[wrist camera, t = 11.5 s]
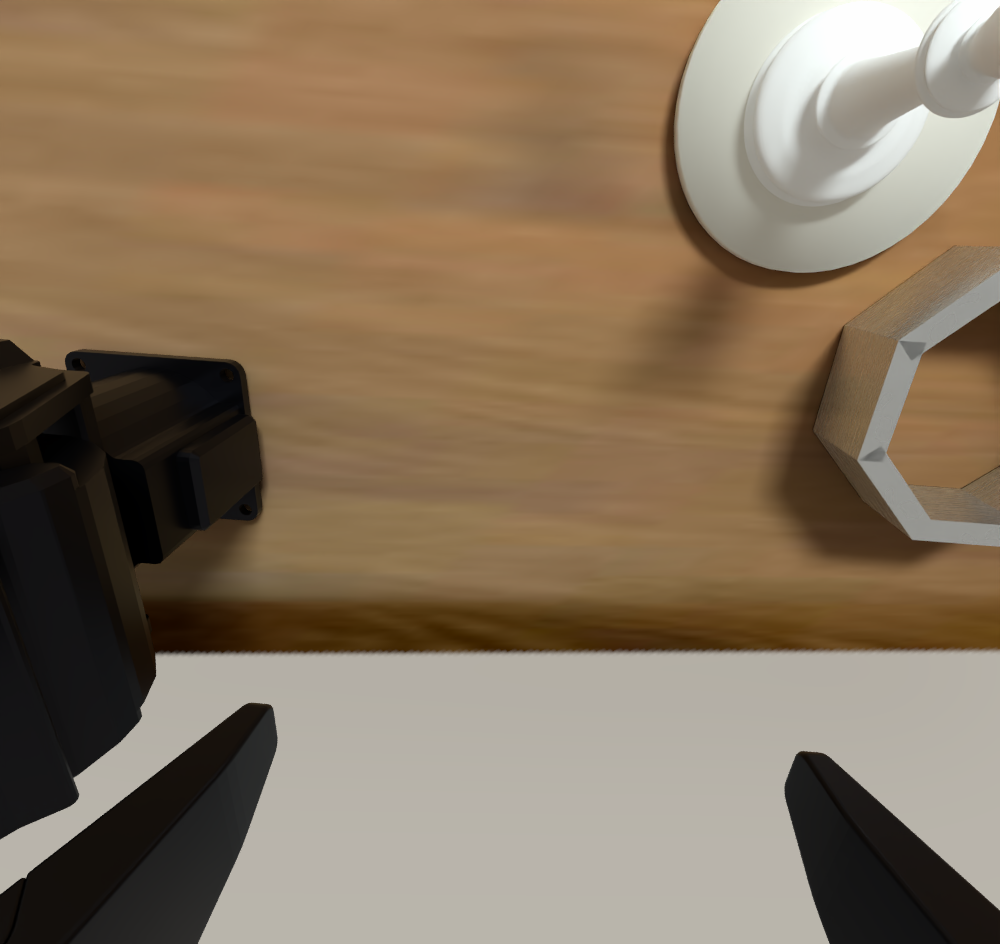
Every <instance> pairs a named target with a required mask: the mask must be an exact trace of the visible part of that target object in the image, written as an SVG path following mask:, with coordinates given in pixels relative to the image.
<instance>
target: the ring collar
mask: <svg viewBox="0 0 1000 944" xmlns="http://www.w3.org/2000/svg"><path fill="white" fill-rule="evenodd" d="M999 301H1000V247H987V246H954V247H952V248H951V249H950V250H948V251H947V252H945V253H944V254H943V255H941V256H940V257H938V258H937V259H936V260H934V261H933V262H932V263H930V264H929V265H927V266H926V267H925V268H923V269H922V270H920V271H919V272H918V273H916V274H915V275H914V276H912V277H911V278H909V279H908V280H907V281H905V282H904V283H902V284H901V285H900V286H898V287H897V288H896V289H894V290H893V291H891V292H890V293H889V294H887V295H886V296H884V297H883V298H882V299H880V300H879V301H878V302H876V303H875V304H873V305H872V306H871V307H869V308H868V309H867V310H865V311H864V312H862V313H861V314H860V315H858V316H857V317H855V318H854V319H853V320H851V321H850V322H849V323H847V324H846V325H845V326H844V329H843V332H842V336H841V339H840V342H839V346H838V349H837V352H836V355H835V359H834V362H833V365H832V369H831V372H830V375H829V379H828V382H827V385H826V389H825V392H824V395H823V398H822V402H821V405H820V408H819V412H818V415H817V418H816V422H815V425H814V428H813V431H814V433H815V434H816V435H817V437H818V438H819V440H820V441H821V442H822V444H823V445H824V447H825V448H826V449H827V451H828V452H829V454H830V455H831V457H832V458H833V459H834V461H835V462H836V464H837V465H838V466H839V468H840V469H841V471H842V472H843V473H844V475H845V476H846V478H847V479H848V480H849V482H850V483H851V485H852V486H853V488H854V489H855V490H856V492H857V493H858V495H859V496H860V497H861V499H862V500H863V501H864V502H865V503H866V504H868V505H869V506H870V507H871V508H873V509H874V510H875V511H877V512H878V513H879V514H880V515H882V516H883V517H884V518H885V519H887V520H888V521H889V522H890V523H892V524H893V525H894V526H895V527H897V528H898V529H899V530H901V531H902V532H903V533H904V534H906V535H907V536H908V537H909V538H911V539H912V540H921V541H934V542H947V543H960V544H974V545H987V546H1000V467H998V468H996V469H994V470H993V471H991V472H989V473H988V474H986V475H984V476H983V477H981V478H979V479H977V480H976V481H974V482H972V483H971V484H969V485H967V486H966V487H964V488H962V489H957V488H943V487H930V486H916V485H907V483H906V482H905V480H904V479H903V477H902V476H901V474H900V473H899V471H898V470H897V469H896V467H895V466H894V464H893V463H892V461H891V460H890V458H889V457H888V455H887V454H886V452H887V449H888V446H889V443H890V441H891V438H892V435H893V432H894V430H895V427H896V424H897V421H898V419H899V416H900V413H901V410H902V408H903V405H904V402H905V399H906V397H907V394H908V391H909V388H910V386H911V383H912V380H913V377H914V375H915V372H916V369H917V366H918V364H919V361H920V358H921V356H922V354H923V353H924V352H925V351H927V350H928V349H930V348H931V347H933V346H934V345H936V344H937V343H939V342H940V341H942V340H943V339H945V338H946V337H948V336H949V335H951V334H952V333H954V332H955V331H957V330H958V329H959V328H961V327H962V326H964V325H965V324H967V323H968V322H970V321H971V320H973V319H974V318H976V317H977V316H979V315H980V314H982V313H983V312H985V311H986V310H988V309H989V308H991V307H992V306H994V305H995V304H996V303H998V302H999Z"/></svg>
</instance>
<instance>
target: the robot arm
mask: <svg viewBox="0 0 1000 944" xmlns="http://www.w3.org/2000/svg"><path fill="white" fill-rule="evenodd" d="M80 359H81V360H82V361H83V362H84V363H85V365H86V369H85V368H84V367H83V366H82V365H81V363H80ZM65 364H66V368H67V370H58V369H52V368H45V367H41V365H40V362H39V361H34V360H33V359H32V358H30V357H29V356H28V355H27V354H26V353H24V352H23V351H22V350H21V349H20V348H19V347H17V346H16V345H15V344H14V343H13V342H11V341H10V340H4V339H0V839H2V838H3V837H5V836H7V835H8V834H10V833H12V832H14V831H15V830H17V829H19V828H21V827H23V826H25V825H28V824H30V823H32V822H35V821H37V820H39V819H41V818H44V817H47V816H49V815H51V814H54V813H56V812H58V811H61V810H63V809H65V808H67V807H69V806H71V805H72V804H74V803H75V802H76V801H77V799H78V797H79V793H78V790H77V787H76V785H75V782H74V779H73V778H74V777H75V776H77V775H79V774H80V773H81V772H82V771H84V770H85V769H86V768H88V767H89V766H90V765H91V764H92V763H94V762H95V761H96V760H98V759H99V758H100V757H101V756H103V755H104V754H105V753H107V752H108V751H109V750H111V749H112V748H113V747H114V746H116V745H117V744H118V743H119V742H121V740H123V738H124V737H125V736H126V735H127V734H128V733H129V732H130V731H131V730H132V729H133V728H134V727H135V725H136V724H137V723H138V722H139V721H140V719H141V717H142V714H141V710H140V707H141V706H142V704H143V703H144V701H145V699H146V697H147V695H148V692H149V690H150V688H151V686H152V684H153V681H154V679H155V677H156V662H155V661H156V660H155V651H154V647H153V643H152V639H151V635H150V634H151V631H152V628H151V624H150V620H149V616H148V615H147V614H145V611H144V607H143V603H142V599H141V595H140V590H139V586H138V582H137V578H136V574H135V570H134V568H135V567H137V566H138V565H139V564H140V563H149V564H158V563H161V562H162V561H163V560H164V559H165V558H166V557H168V556H169V555H170V554H171V553H172V552H173V551H174V550H176V549H177V548H178V547H179V546H180V545H181V544H182V543H183V542H185V541H186V540H187V539H188V538H189V537H190V536H191V535H192V534H194V533H195V532H196V531H197V530H204V531H205V530H207V529H208V528H209V527H210V526H211V525H212V524H214V523H215V522H216V521H217V520H218V519H219V518H220V519H233V520H246V521H247V520H253V519H254V518H256V517H257V516H258V515H259V514H260V512H261V511H262V501H261V493H260V485H259V482H260V481H261V480H262V468H261V460H260V452H259V444H258V436H257V428H256V421H255V420H254V419H253V417H252V416H251V414H250V406H249V398H248V390H247V382H246V374H245V371H244V368H243V367H242V366H241V364H239V363H238V362H236V361H233V360H228V359H214V358H200V357H185V356H171V355H157V354H143V353H129V352H115V351H101V350H86V349H82V350H77V351H73V352H70V353H69V354H67V356H66V358H65ZM226 369H229V370H230V371H231V372H232V373H233V375H234V378H233V380H232V379H229V378H228V377H227V376H226V373H225V371H226ZM244 504H247V505H249V506H250V507H251V509H252V511H250V510H247V509H246V508H245V506H244ZM276 748H277V731H276V725H275V718H274V711H273V708H272V706H271V705H269V704H260V703H248V704H246V705H244V706H242V707H241V708H240V709H239V710H237V711H236V712H235V713H233V714H232V715H231V716H230V717H228V718H227V719H226V720H224V721H223V722H222V723H221V724H219V725H218V726H217V727H215V728H214V729H213V730H212V731H210V732H209V733H208V734H207V735H205V736H204V737H203V738H201V739H200V740H199V741H197V742H196V743H195V744H194V745H192V746H191V747H190V748H188V749H187V750H186V751H185V752H183V753H182V754H181V755H179V756H178V757H177V758H176V759H174V760H173V761H172V762H170V763H169V764H168V765H167V766H165V767H164V768H163V769H161V770H160V771H159V772H158V773H156V774H155V775H154V776H152V777H151V778H150V779H149V780H148V781H146V782H145V783H143V784H142V785H141V786H140V787H138V788H137V789H136V790H134V791H133V792H132V793H131V794H129V795H128V796H127V797H125V798H124V799H123V800H122V801H120V802H119V803H118V804H116V805H115V806H114V807H113V808H112V809H110V810H109V811H107V812H106V813H105V814H104V815H102V816H101V817H100V818H98V819H97V820H96V821H95V822H93V823H92V824H91V825H89V826H88V827H87V828H86V829H84V830H83V831H82V832H80V833H79V834H78V835H77V836H75V837H74V838H73V839H71V840H70V841H69V842H68V843H66V844H65V845H64V846H62V847H61V848H60V849H59V850H57V851H56V852H55V853H53V854H52V855H51V856H50V857H48V858H47V859H46V860H44V861H43V862H42V863H41V864H39V865H38V866H37V867H35V868H34V869H33V870H32V871H30V872H29V873H28V875H27V877H26V878H21V879H20V880H18V881H17V882H16V883H14V884H13V885H12V886H11V887H9V888H8V889H7V890H6V891H4V892H3V893H2V894H0V944H198V942H199V940H200V937H201V935H202V933H203V931H204V929H205V927H206V924H207V922H208V920H209V918H210V916H211V914H212V911H213V909H214V907H215V905H216V903H217V901H218V898H219V896H220V894H221V892H222V890H223V887H224V885H225V883H226V881H227V879H228V877H229V875H230V872H231V870H232V868H233V866H234V864H235V862H236V859H237V857H238V854H239V852H240V850H241V848H242V845H243V842H244V840H245V837H246V834H247V832H248V829H249V826H250V823H251V821H252V818H253V815H254V812H255V809H256V806H257V803H258V801H259V798H260V795H261V792H262V789H263V786H264V784H265V781H266V778H267V775H268V772H269V769H270V766H271V764H272V761H273V758H274V755H275V752H276ZM785 798H786V803H787V806H788V809H789V813H790V817H791V821H792V824H793V828H794V832H795V835H796V839H797V843H798V846H799V850H800V853H801V857H802V861H803V864H804V867H805V871H806V875H807V879H808V883H809V886H810V889H811V892H812V896H813V899H814V902H815V905H816V908H817V911H818V914H819V917H820V919H821V922H822V925H823V927H824V930H825V933H826V935H827V938H828V941H829V943H830V944H1000V910H999V909H998V908H996V907H995V906H994V905H993V904H992V903H991V902H990V901H989V900H988V899H986V898H985V897H984V896H983V895H982V894H981V893H980V892H979V891H978V890H976V889H975V888H974V887H973V886H972V885H971V884H970V883H969V882H967V881H966V880H965V879H964V878H963V877H962V876H961V875H960V874H959V873H958V872H956V871H955V870H954V869H953V868H952V867H951V866H950V865H949V864H948V863H946V862H945V861H944V860H943V859H942V858H941V857H940V856H939V855H938V854H936V853H935V852H934V851H933V850H932V849H931V848H930V847H929V846H927V845H926V844H925V843H924V842H923V841H922V840H921V839H920V838H919V837H917V835H915V834H914V833H913V832H912V831H911V830H910V829H909V828H908V827H906V826H905V825H904V824H903V823H902V822H901V821H900V820H899V819H898V818H897V817H895V816H894V815H893V814H892V813H891V812H890V811H889V810H888V809H886V808H885V807H884V806H883V805H882V804H881V803H880V802H879V801H878V800H877V799H875V798H874V797H873V796H872V795H871V794H870V793H869V792H868V791H867V790H865V789H864V788H863V787H862V786H861V785H860V784H859V783H858V782H857V781H855V780H854V779H853V778H852V777H851V776H850V775H849V774H848V773H847V772H845V771H844V770H843V769H842V768H841V767H840V766H839V765H838V764H836V763H835V762H834V761H833V760H832V759H831V758H830V757H828V756H827V755H825V754H823V753H818V752H807V751H806V752H805V751H801V752H799V753H798V754H796V756H795V759H794V761H793V764H792V767H791V769H790V772H789V774H788V777H787V780H786V782H785Z"/></svg>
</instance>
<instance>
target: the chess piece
mask: <svg viewBox="0 0 1000 944" xmlns="http://www.w3.org/2000/svg"><path fill="white" fill-rule="evenodd" d="M999 99H1000V0H954V1H953V2H951V3H950V4H949V5H948V6H947V7H945V8H944V9H943V10H942V11H941V12H940V13H939V15H938V16H937V17H936V18H935V19H934V21H933V22H932V23H931V25H930V26H929V28H928V29H927V31H926V33H925V35H924V34H923V32H922V31H921V29H920V28H919V26H918V25H917V24H916V23H915V22H914V21H913V20H912V19H911V18H910V17H909V16H908V15H907V14H905V13H904V12H902V11H901V10H899V9H897V8H895V7H893V6H891V5H888V4H884V3H880V2H874V1H858V2H851V3H846V4H843V5H839V6H837V7H834V8H831V9H829V10H827V11H824V12H821V13H819V14H817V15H815V16H813V17H811V18H809V19H808V20H806V21H804V22H803V23H801V24H800V25H798V26H797V27H796V28H795V29H793V30H792V31H791V32H790V33H789V34H788V35H786V36H785V37H784V38H783V39H782V40H781V41H780V42H779V44H778V45H777V46H776V47H775V48H774V49H773V51H772V52H771V53H770V55H769V56H768V58H767V59H766V61H765V62H764V64H763V65H762V67H761V69H760V71H759V72H758V75H757V77H756V79H755V81H754V83H753V86H752V88H751V91H750V94H749V97H748V101H747V105H746V111H745V118H744V142H745V148H746V153H747V157H748V160H749V162H750V165H751V167H752V169H753V171H754V173H755V175H756V176H757V178H758V179H759V181H760V182H761V183H762V184H763V186H764V187H765V188H766V189H767V190H768V191H770V192H771V193H772V194H774V195H775V196H777V197H778V198H780V199H782V200H784V201H786V202H789V203H792V204H795V205H800V206H810V207H816V206H825V205H830V204H834V203H838V202H841V201H844V200H846V199H848V198H851V197H853V196H856V195H858V194H860V193H862V192H864V191H866V190H868V189H870V188H871V187H873V186H874V185H876V184H877V183H879V182H880V181H881V180H883V179H884V178H885V177H886V176H887V175H889V174H890V173H891V172H892V171H893V170H894V169H895V168H896V167H897V166H898V165H899V164H900V162H901V161H902V160H903V159H904V158H905V156H906V155H907V154H908V152H909V151H910V150H911V148H912V147H913V145H914V143H915V142H916V140H917V138H918V137H919V135H920V133H921V131H922V128H923V126H924V124H925V121H926V119H927V116H928V113H929V110H930V111H931V112H932V113H934V114H936V115H939V116H941V117H945V118H963V117H967V116H971V115H974V114H976V113H979V112H981V111H983V110H984V109H986V108H988V107H989V106H991V105H992V104H994V103H995V102H996V101H998V100H999Z"/></svg>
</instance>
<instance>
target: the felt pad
mask: <svg viewBox="0 0 1000 944" xmlns="http://www.w3.org/2000/svg"><path fill="white" fill-rule="evenodd" d="M858 1H874V2H880V3H884V4H888V5H891V6H893V7H895V8H897V9H899V10H901V11H902V12H904V13H905V14H907V15H908V16H909V17H910V18H911V19H912V20H913V21H914V22H915V23H916V24H917V25H918V26H919V28H920V29H921V31H922V32H923V34H924V35H925V33H926V31H927V29H928V28H929V26H930V25H931V23H932V22H933V21H934V19H935V18H936V17H937V16H938V15H939V13H940V12H941V11H942V10H943V9H944V8H945V7H947V6H948V5H949V4H950V3H951V2H953V1H954V0H720V1H719V3H718V4H717V6H716V7H715V8H714V10H713V11H712V13H711V14H710V16H709V18H708V20H707V21H706V23H705V25H704V26H703V28H702V30H701V32H700V33H699V35H698V38H697V40H696V42H695V44H694V47H693V49H692V51H691V53H690V55H689V58H688V61H687V64H686V67H685V70H684V73H683V76H682V79H681V83H680V88H679V93H678V97H677V102H676V110H675V120H674V151H675V158H676V166H677V171H678V175H679V179H680V183H681V186H682V190H683V192H684V194H685V197H686V199H687V202H688V204H689V206H690V208H691V210H692V211H693V213H694V215H695V217H696V218H697V220H698V222H699V223H700V224H701V225H702V227H703V228H704V229H705V230H706V232H707V233H708V234H709V235H710V236H711V237H712V238H713V239H714V240H715V241H716V242H717V243H718V244H719V245H720V246H722V247H723V248H724V249H726V250H727V251H729V252H730V253H732V254H733V255H735V256H736V257H738V258H740V259H742V260H744V261H747V262H749V263H751V264H753V265H757V266H760V267H764V268H767V269H772V270H780V271H787V272H794V273H806V272H821V271H828V270H834V269H838V268H841V267H845V266H849V265H852V264H855V263H858V262H860V261H863V260H865V259H868V258H870V257H872V256H874V255H876V254H878V253H880V252H882V251H884V250H886V249H887V248H889V247H891V246H893V245H894V244H896V243H897V242H899V241H900V240H902V239H903V238H904V237H906V236H907V235H909V234H910V233H911V232H913V231H914V230H915V229H916V228H917V227H919V226H920V225H921V224H922V223H923V222H925V221H926V220H927V219H928V218H929V217H930V216H931V215H932V214H933V213H934V212H935V211H936V210H937V209H938V208H939V207H940V206H941V205H942V204H943V203H944V202H945V200H946V199H947V198H948V197H949V195H950V194H951V193H952V192H953V191H954V189H955V188H956V187H957V186H958V184H959V183H960V182H961V180H962V179H963V177H964V176H965V174H966V173H967V171H968V170H969V168H970V167H971V165H972V164H973V162H974V160H975V158H976V156H977V154H978V153H979V151H980V149H981V147H982V145H983V143H984V141H985V139H986V137H987V134H988V132H989V129H990V127H991V124H992V122H993V120H994V117H995V114H996V110H997V107H998V104H999V100H1000V99H999V100H998V101H996V102H995V103H994V104H992V105H991V106H989V107H988V108H986V109H984V110H983V111H981V112H979V113H976V114H974V115H971V116H967V117H963V118H945V117H941V116H939V115H936V114H934V113H932V112H931V111H930V110H929V113H928V116H927V119H926V121H925V124H924V126H923V128H922V131H921V133H920V135H919V137H918V138H917V140H916V142H915V143H914V145H913V147H912V148H911V150H910V151H909V152H908V154H907V155H906V156H905V158H904V159H903V160H902V161H901V162H900V164H899V165H898V166H897V167H896V168H895V169H894V170H893V171H892V172H891V173H890V174H889V175H887V176H886V177H885V178H884V179H883V180H881V181H880V182H879V183H877V184H876V185H874V186H873V187H871V188H870V189H868V190H866V191H864V192H862V193H860V194H858V195H856V196H853V197H851V198H848V199H846V200H844V201H841V202H838V203H834V204H830V205H825V206H816V207H810V206H800V205H795V204H792V203H789V202H786V201H784V200H782V199H780V198H778V197H777V196H775V195H774V194H772V193H771V192H770V191H768V190H767V189H766V188H765V187H764V186H763V184H762V183H761V182H760V181H759V179H758V178H757V176H756V175H755V173H754V171H753V169H752V167H751V165H750V162H749V160H748V157H747V153H746V148H745V142H744V118H745V111H746V105H747V101H748V97H749V94H750V91H751V88H752V86H753V83H754V81H755V79H756V77H757V75H758V72H759V71H760V69H761V67H762V65H763V64H764V62H765V61H766V59H767V58H768V56H769V55H770V53H771V52H772V51H773V49H774V48H775V47H776V46H777V45H778V44H779V42H780V41H781V40H782V39H783V38H784V37H785V36H786V35H788V34H789V33H790V32H791V31H792V30H793V29H795V28H796V27H797V26H798V25H800V24H801V23H803V22H804V21H806V20H808V19H809V18H811V17H813V16H815V15H817V14H819V13H821V12H824V11H827V10H829V9H831V8H834V7H837V6H839V5H843V4H846V3H851V2H858Z"/></svg>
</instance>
